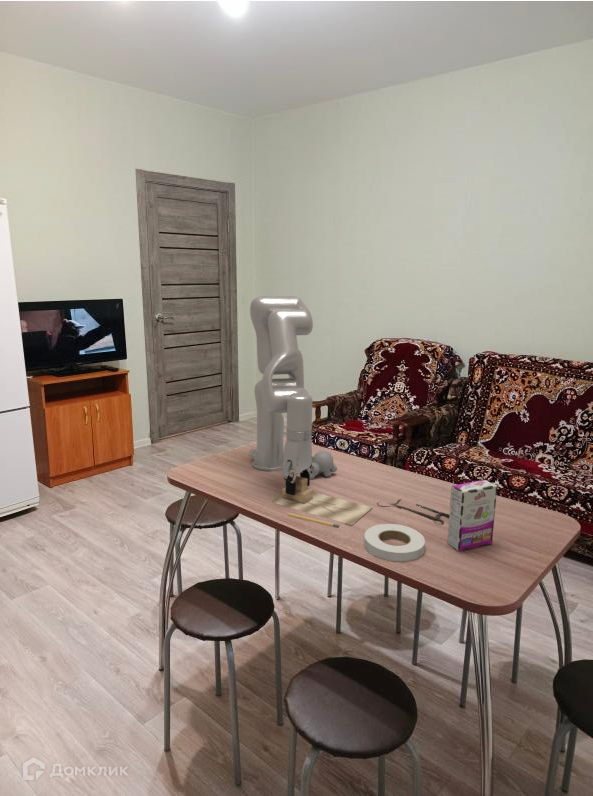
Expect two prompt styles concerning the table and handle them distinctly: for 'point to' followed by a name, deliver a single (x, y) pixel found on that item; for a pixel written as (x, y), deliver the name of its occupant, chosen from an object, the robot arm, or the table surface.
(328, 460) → the toy rhinoceros
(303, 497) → the cork sanding block
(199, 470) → the table surface
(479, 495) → the candy bar box
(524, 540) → the table surface
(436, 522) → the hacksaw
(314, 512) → the birch board
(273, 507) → the table surface
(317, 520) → the pencil
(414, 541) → the roll of tape
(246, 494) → the table surface
